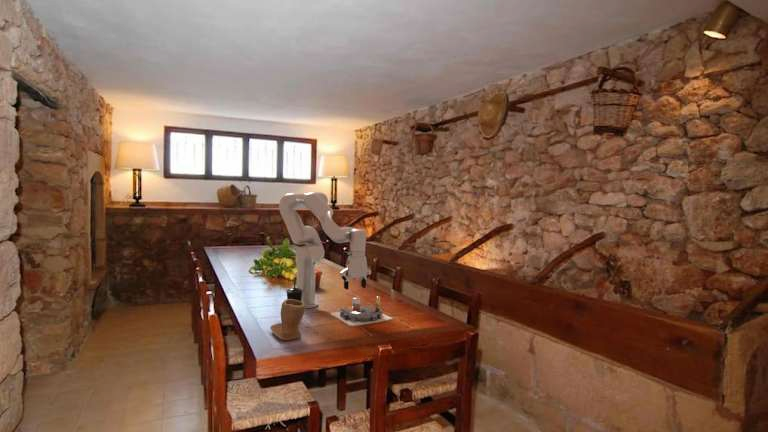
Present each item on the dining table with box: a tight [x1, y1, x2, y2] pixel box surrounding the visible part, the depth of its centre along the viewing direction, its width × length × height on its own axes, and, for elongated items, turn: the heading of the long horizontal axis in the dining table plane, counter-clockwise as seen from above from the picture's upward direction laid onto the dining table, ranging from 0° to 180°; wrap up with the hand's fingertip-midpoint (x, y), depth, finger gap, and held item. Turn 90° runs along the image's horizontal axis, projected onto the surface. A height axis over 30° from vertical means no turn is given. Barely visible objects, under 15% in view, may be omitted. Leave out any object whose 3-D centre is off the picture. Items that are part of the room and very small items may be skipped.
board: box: [330, 311, 394, 328], centre depth 205 cm, size 23×21×1 cm
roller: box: [351, 296, 361, 309], centre depth 209 cm, size 4×4×5 cm
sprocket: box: [339, 295, 384, 322], centre depth 205 cm, size 21×21×9 cm
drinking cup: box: [286, 276, 303, 301], centre depth 198 cm, size 8×8×20 cm
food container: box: [295, 268, 323, 291], centre depth 262 cm, size 16×16×11 cm
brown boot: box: [270, 298, 306, 341], centre depth 175 cm, size 15×12×15 cm
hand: (354, 288), depth 209 cm, fingers open, 9 cm apart
